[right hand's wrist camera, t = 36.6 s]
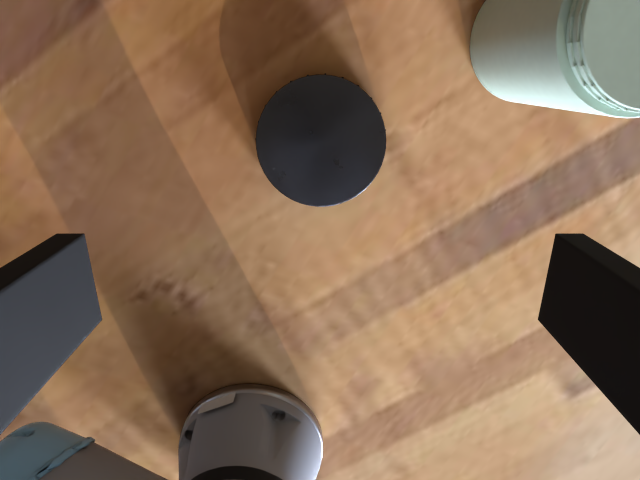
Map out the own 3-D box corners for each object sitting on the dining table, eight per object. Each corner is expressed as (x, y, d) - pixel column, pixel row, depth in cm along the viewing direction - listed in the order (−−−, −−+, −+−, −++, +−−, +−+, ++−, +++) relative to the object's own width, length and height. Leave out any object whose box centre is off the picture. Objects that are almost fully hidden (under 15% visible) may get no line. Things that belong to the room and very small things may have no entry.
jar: (487, -40, 32) (617, -127, 18) (610, -21, 32) (828, -91, 18) (456, 93, 35) (545, 107, 21) (568, 110, 36) (726, 133, 22)
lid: (239, 169, 37) (235, 173, 36) (290, 49, 34) (288, 48, 32) (347, 220, 39) (349, 227, 37) (406, 111, 36) (411, 113, 34)
